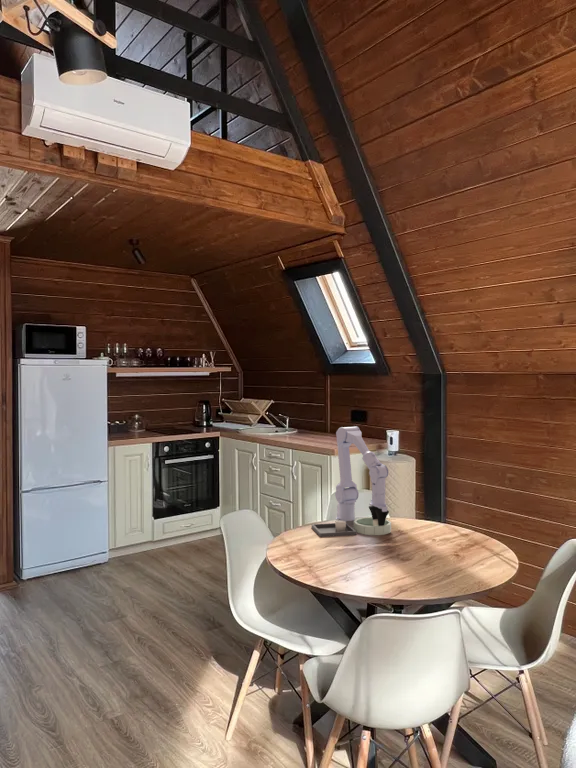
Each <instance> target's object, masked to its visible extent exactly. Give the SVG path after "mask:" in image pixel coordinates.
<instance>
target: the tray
mask: <svg viewBox="0 0 576 768" xmlns="http://www.w3.org/2000/svg"><path fill="white" fill-rule="evenodd" d="M311 529H312V530H313V531H314V532H315V534H316V535H317V536H319V538H329V537H345V536H346V537H347V536H357V532H356V531H355V530H354V527H353V526H350V524H349V523H347V522H346V531H344V532H336V531H335V522H329V523H312V524H311Z"/></svg>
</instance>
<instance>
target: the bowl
mask: <svg viewBox="0 0 576 768" xmlns="http://www.w3.org/2000/svg"><path fill="white" fill-rule="evenodd" d="M353 529H354V530H355V531H356V534H357V533H358V534H361V535H366V536H385V535H387V534H390V533H391V532H392V521H390V520H388V519H386V520H385V524H384V525H383V526H373V519H372V516H371V517H369V516H367V517H357V518H355V520H353Z"/></svg>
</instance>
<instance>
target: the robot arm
mask: <svg viewBox="0 0 576 768" xmlns="http://www.w3.org/2000/svg"><path fill="white" fill-rule="evenodd" d="M362 433H363V432H362V431H361V430H360V427H359V426H357V425H356V426H355V425H353V426H344V427H343V426H341V427H339V428H338V429H336V432H335V435H336V444H337V446H336V448H337V455H338V456H337V457H338V469H339V480H340V481H339V483H338V484H337V485H335V500H336V501H337V506H336V507H337V509H336V510H337V513H336V515H337V516H336V517H335V518H334V519H336V520H344V521H346V522H354V520H355V519H356V518H355V516H356V515H355V514H356V513H355V510H356V505H355V504H356V503H357V500H358V499H359V490H358V488H357V487H358V485H357V484H356V483H355V482H354V481H353V477H352V464H351V463H352V462H351V454H350V452H351V451H350V447H351V446H352V444H353V445H354V446H355V447H356V448H357V450H358V451H359V452H360V454H361V455H362V457H361V458H362V461H363V462H364V464H365V465H366V467H367V469H368V470H369V471H368V475H369V477H370V482H371V499H370V502H369V504H368V505H369V506H368V508H369V511H370V513H371V517H372V519H373V520H374V519H378V525H379V526H383V525H384V524H385V520H387V517H388V515H389V512H390V510H388V507H387V503H386V478H387V477H389V469H388V466H387V465H385V464H383V463H381V461H380V460H379V459H378V457H377V455H376V453H375V452H374V451H370V449H369V448H368V446H367V445H366V442H365V440H364V438H363V437H362V435H363V434H362Z"/></svg>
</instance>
